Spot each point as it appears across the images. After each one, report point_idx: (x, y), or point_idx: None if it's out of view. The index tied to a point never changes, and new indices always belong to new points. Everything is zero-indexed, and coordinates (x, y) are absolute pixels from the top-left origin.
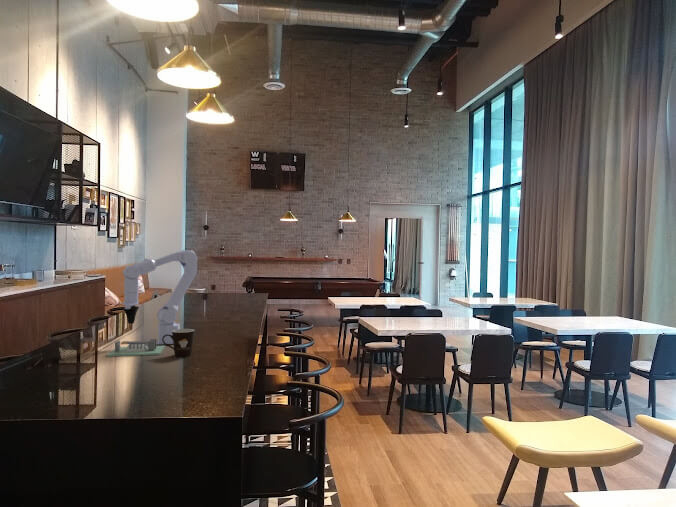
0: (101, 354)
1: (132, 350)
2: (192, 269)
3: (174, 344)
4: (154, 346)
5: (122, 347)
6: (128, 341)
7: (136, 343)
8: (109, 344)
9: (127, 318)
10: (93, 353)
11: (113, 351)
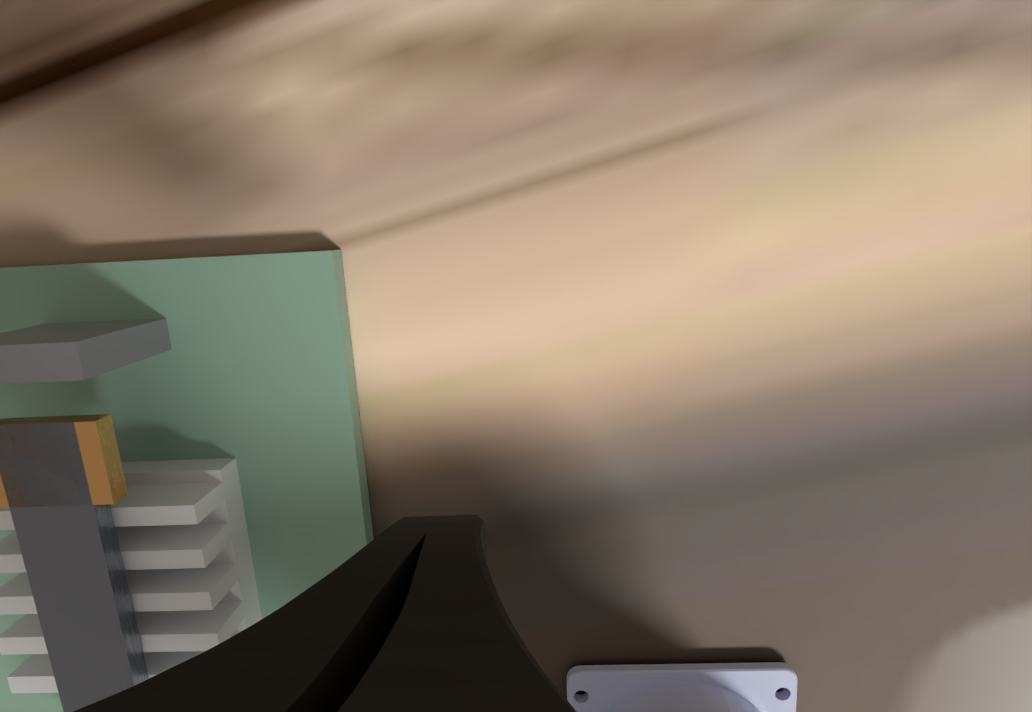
0: (11, 162)
1: None
2: None
3: None
4: None
5: (306, 342)
6: (93, 499)
7: (49, 609)
8: (695, 36)
9: (323, 585)
10: (63, 26)
11: (54, 300)
